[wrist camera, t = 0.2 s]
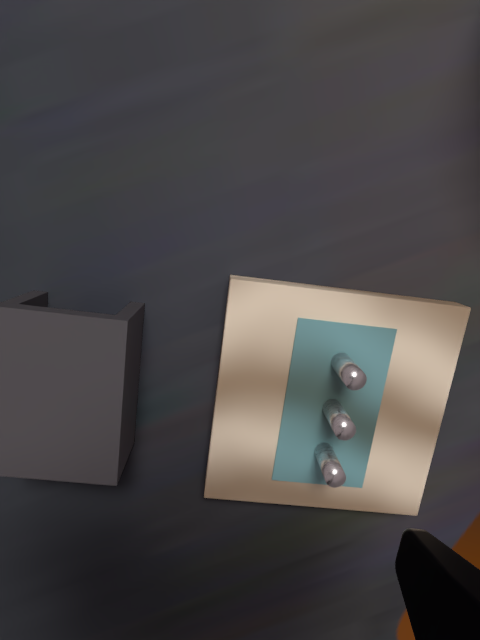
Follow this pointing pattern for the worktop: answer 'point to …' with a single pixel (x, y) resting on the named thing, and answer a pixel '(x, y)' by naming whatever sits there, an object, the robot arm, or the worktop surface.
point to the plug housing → (67, 390)
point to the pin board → (330, 395)
